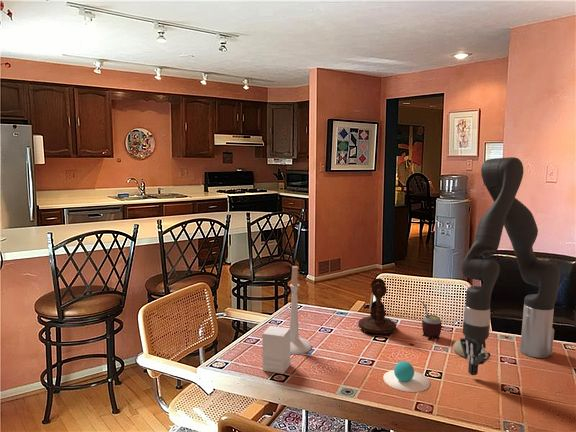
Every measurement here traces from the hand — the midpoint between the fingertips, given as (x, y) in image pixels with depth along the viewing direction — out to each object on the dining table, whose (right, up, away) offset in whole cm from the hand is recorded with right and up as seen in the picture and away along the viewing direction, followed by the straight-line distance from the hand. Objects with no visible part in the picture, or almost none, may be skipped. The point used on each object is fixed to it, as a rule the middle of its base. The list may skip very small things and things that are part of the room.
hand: (472, 373), depth 145 cm
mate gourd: (-4, +3, +32) cm, 32 cm away
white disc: (-21, -1, -2) cm, 21 cm away
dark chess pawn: (-22, +4, +39) cm, 45 cm away
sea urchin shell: (+5, +1, +19) cm, 19 cm away
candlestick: (-56, +2, +22) cm, 60 cm away
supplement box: (-61, 0, +6) cm, 62 cm away
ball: (-22, +1, -2) cm, 22 cm away
